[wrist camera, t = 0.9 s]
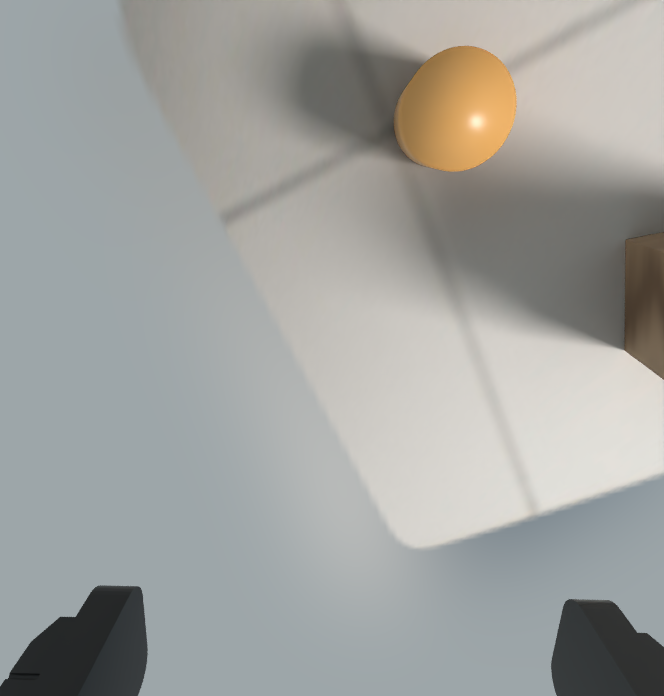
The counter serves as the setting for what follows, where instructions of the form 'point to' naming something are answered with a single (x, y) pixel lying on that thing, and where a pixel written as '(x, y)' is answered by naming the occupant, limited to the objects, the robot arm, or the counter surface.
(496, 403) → the counter surface
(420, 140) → the orange rounded cylinder
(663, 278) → the walnut base cube
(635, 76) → the counter surface
